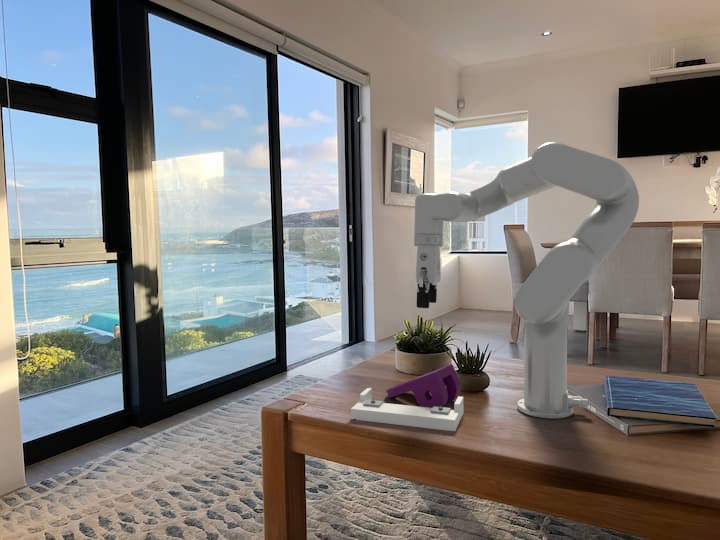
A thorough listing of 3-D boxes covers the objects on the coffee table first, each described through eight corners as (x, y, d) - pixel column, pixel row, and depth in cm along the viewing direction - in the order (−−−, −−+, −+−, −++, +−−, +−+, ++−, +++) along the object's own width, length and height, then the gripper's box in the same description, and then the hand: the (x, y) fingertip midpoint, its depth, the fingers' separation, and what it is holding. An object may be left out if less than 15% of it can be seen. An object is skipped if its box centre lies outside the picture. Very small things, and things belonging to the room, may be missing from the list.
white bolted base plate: (463, 413, 120) (463, 396, 120) (455, 431, 110) (455, 413, 109) (367, 403, 129) (367, 387, 128) (351, 419, 118) (350, 402, 118)
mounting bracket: (391, 424, 130) (447, 406, 120) (379, 392, 132) (433, 372, 121) (411, 413, 138) (466, 396, 127) (399, 383, 139) (452, 364, 129)
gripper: (436, 242, 125) (434, 311, 127) (448, 240, 141) (446, 301, 143) (406, 241, 128) (405, 309, 129) (421, 239, 144) (420, 299, 146)
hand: (426, 305), depth 136 cm, fingers open, 9 cm apart
